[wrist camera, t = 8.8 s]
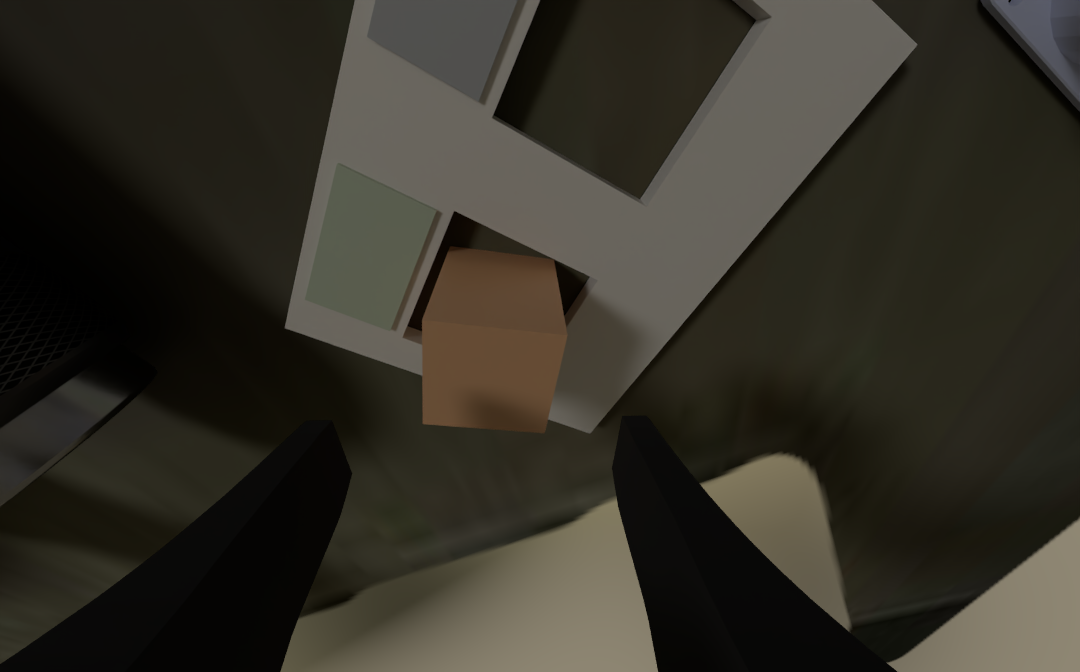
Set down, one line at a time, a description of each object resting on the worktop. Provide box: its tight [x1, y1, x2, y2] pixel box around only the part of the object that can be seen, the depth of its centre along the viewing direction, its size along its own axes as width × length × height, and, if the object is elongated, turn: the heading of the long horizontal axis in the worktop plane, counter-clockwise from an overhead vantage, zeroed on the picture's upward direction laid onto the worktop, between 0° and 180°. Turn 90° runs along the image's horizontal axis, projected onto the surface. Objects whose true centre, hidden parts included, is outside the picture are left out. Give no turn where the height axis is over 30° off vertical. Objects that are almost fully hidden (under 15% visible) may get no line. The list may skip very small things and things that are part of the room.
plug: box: [422, 246, 568, 433], centre depth 16 cm, size 4×5×6 cm
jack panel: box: [285, 0, 917, 433], centre depth 16 cm, size 16×20×1 cm
